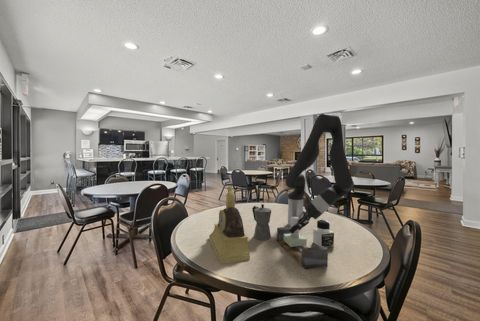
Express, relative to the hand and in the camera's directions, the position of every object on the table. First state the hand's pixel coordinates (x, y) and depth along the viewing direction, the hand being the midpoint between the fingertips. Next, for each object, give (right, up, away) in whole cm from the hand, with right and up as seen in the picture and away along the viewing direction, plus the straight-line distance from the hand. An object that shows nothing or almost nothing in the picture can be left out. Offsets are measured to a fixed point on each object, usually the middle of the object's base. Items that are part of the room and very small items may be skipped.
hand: (290, 229), depth 103 cm
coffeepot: (-13, -8, +14) cm, 21 cm away
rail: (+3, -9, -5) cm, 10 cm away
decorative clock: (-31, -9, 0) cm, 32 cm away
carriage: (+2, -6, 0) cm, 6 cm away
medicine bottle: (+17, -9, +4) cm, 20 cm away
